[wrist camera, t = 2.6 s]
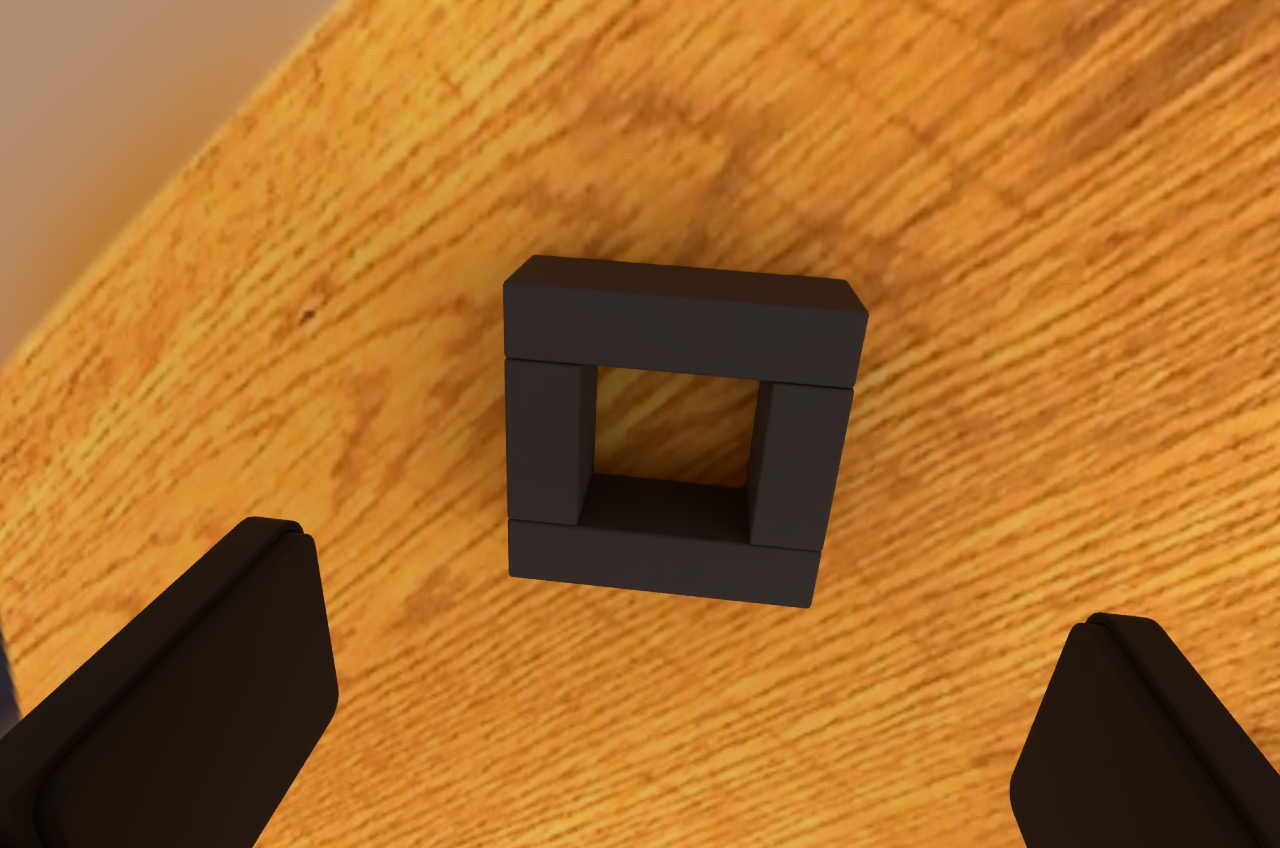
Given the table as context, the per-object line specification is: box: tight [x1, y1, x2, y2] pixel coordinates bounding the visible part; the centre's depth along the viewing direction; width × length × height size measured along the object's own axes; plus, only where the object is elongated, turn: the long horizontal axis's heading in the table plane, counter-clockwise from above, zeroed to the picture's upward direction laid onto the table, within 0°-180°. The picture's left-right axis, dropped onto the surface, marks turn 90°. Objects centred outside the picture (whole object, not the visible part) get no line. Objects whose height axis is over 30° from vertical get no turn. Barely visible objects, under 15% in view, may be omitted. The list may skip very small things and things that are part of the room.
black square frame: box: [503, 255, 869, 608], centre depth 15 cm, size 7×7×2 cm
